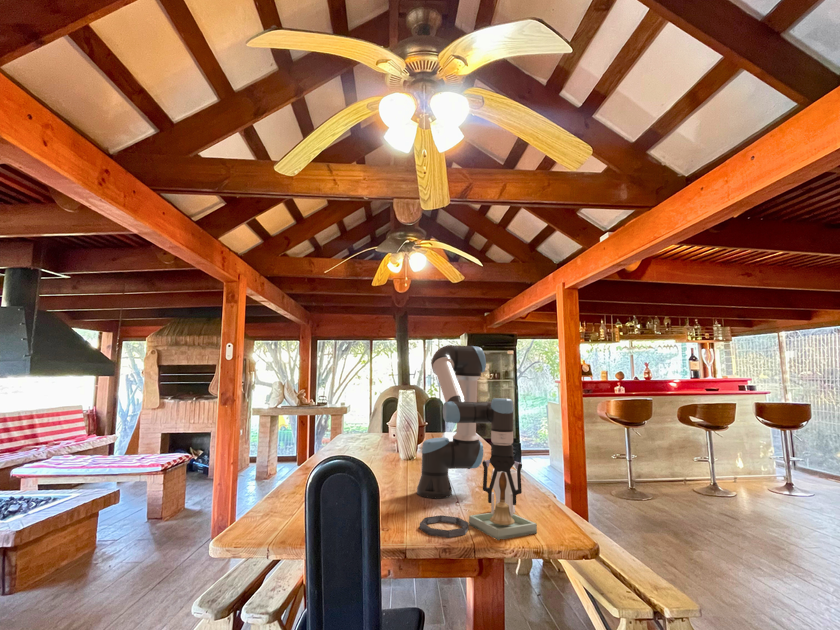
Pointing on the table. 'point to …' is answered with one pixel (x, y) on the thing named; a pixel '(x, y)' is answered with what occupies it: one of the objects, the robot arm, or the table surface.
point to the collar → (444, 532)
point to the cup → (508, 488)
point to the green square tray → (502, 526)
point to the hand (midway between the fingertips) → (502, 513)
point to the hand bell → (502, 506)
